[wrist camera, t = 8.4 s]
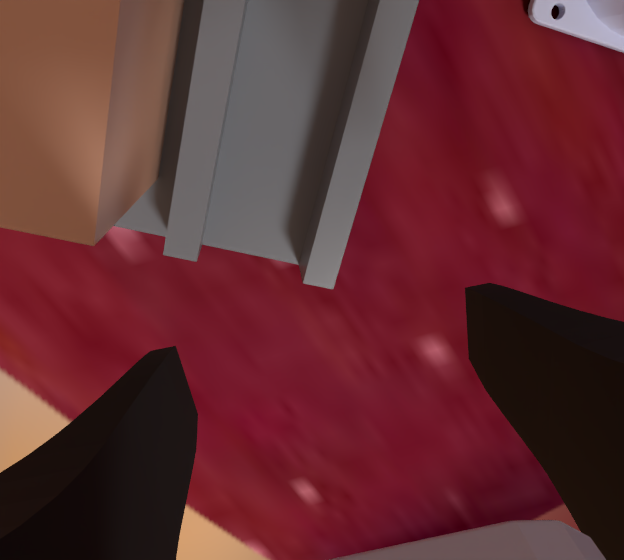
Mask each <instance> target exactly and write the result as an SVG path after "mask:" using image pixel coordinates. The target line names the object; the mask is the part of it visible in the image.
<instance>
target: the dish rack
mask: <svg viewBox="0 0 624 560" xmlns="http://www.w3.org/2000/svg"><path fill="white" fill-rule="evenodd" d="M418 2H419V0H185V1H184V8H183V15H182V21H181V28H180V35H179V42H178V48H177V55H176V62H175V69H174V75H173V82H172V89H171V96H170V102H169V109H168V116H167V123H166V129H165V136H164V143H163V150H162V156H161V163H160V170H159V176H158V179H157V180H156V181H155V182H154V184H153V185H152V186H151V187H150V188H149V189H148V190H147V191H146V192H145V193H144V194H143V195H142V196H141V197H140V198H139V199H138V200H137V201H136V202H135V203H134V205H133V206H132V207H131V208H130V209H129V210H128V211H127V212H126V213H125V214H124V215H123V216H122V217H121V218H120V219H119V220H118V221H117V222H116V223H115V224H114V225H113V226H117V227H122V228H126V229H131V230H136V231H141V232H145V233H150V234H155V235H160V236H165V237H166V240H165V246H164V252H163V255H166V256H171V257H176V258H181V259H186V260H191V261H196V262H197V259H198V256H199V253H200V250H201V247H202V244H203V245H208V246H212V247H217V248H222V249H227V250H231V251H236V252H241V253H246V254H251V255H255V256H260V257H265V258H270V259H275V260H279V261H284V262H289V263H294V264H298V265H299V268H300V272H301V277H302V282H303V283H304V284H309V285H314V286H319V287H324V288H329V289H333V288H334V285H335V281H336V278H337V274H338V271H339V268H340V264H341V261H342V258H343V254H344V251H345V248H346V244H347V241H348V237H349V234H350V231H351V227H352V224H353V221H354V217H355V214H356V211H357V207H358V204H359V200H360V197H361V194H362V190H363V187H364V184H365V180H366V177H367V174H368V170H369V167H370V163H371V160H372V157H373V153H374V150H375V147H376V143H377V140H378V136H379V133H380V130H381V126H382V123H383V120H384V116H385V113H386V110H387V106H388V103H389V99H390V96H391V93H392V89H393V86H394V83H395V79H396V76H397V73H398V69H399V66H400V62H401V59H402V56H403V52H404V49H405V46H406V42H407V39H408V36H409V32H410V29H411V25H412V22H413V19H414V15H415V12H416V9H417V5H418Z"/></svg>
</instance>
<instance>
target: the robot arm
mask: <svg viewBox="0 0 624 560" xmlns="http://www.w3.org/2000/svg"><path fill="white" fill-rule="evenodd" d="M554 5H556V6H558V8H559V15H558V17H557V18H556V19H554V18H552V15H551V11H552V8H553V7H554ZM528 15H529V18H530V19H531V21H533V22H534V23H536V24H539V25H542V26H545V27H548V28H551V29H554V30H557V31H560V32H563V33H566V34H569V35H572V36H575V37H578V38H581V39H584V40H587V41H590V42H593V43H596V44H599V45H602V46H605V47H608V48H611V49H614V50H617V51H620V52H623V53H624V0H530V3H529V7H528ZM465 295H466V313H467V332H468V351H469V360H470V361H471V363H472V365H473V367H474V369H475V371H476V373H477V375H478V377H479V379H480V380H481V382H482V384H483V386H484V388H485V389H486V391H487V392H488V394H489V395H490V397H491V398H492V399H493V401H494V402H495V403H496V405H497V406H498V408H499V409H500V410H501V412H502V413H503V414H504V416H505V417H506V418H507V420H508V421H509V422H510V424H511V425H512V426H513V428H514V429H515V430H516V432H517V433H518V434H519V436H520V437H521V438H522V440H523V441H524V442H525V444H526V445H527V446H528V448H529V449H530V450H531V452H532V453H533V454H534V456H535V457H536V458H537V460H538V461H539V463H540V464H541V466H542V467H543V469H544V470H545V472H546V473H547V474H548V476H549V478H550V479H551V481H552V483H553V484H554V486H555V488H556V489H557V491H558V493H559V494H560V496H561V498H562V500H563V501H564V503H565V505H566V506H567V508H568V510H569V511H570V513H571V515H572V517H573V518H574V520H575V522H576V524H577V526H578V527H579V529H580V531H581V532H579V531H578V530H576V529H574V528H572V527H570V526H568V525H566V524H565V523H563V522H561V521H556V520H518V521H508V522H503V523H498V524H494V525H489V526H484V527H479V528H475V529H470V530H465V531H461V532H456V533H451V534H447V535H442V536H437V537H433V538H428V539H423V540H419V541H414V542H409V543H405V544H400V545H395V546H391V547H386V548H381V549H377V550H372V551H367V552H363V553H358V554H353V555H349V556H344V557H339V558H335V559H330V560H624V322H622V321H617V320H613V319H609V318H605V317H601V316H597V315H594V314H590V313H586V312H583V311H579V310H576V309H572V308H569V307H566V306H563V305H559V304H556V303H553V302H550V301H547V300H544V299H541V298H538V297H535V296H532V295H529V294H526V293H523V292H520V291H517V290H514V289H511V288H507V287H504V286H501V285H497V284H492V283H487V284H482V285H477V286H472V287H467V288H465ZM197 420H198V413H197V410H196V407H195V404H194V401H193V398H192V395H191V392H190V389H189V386H188V382H187V379H186V376H185V373H184V370H183V367H182V364H181V361H180V358H179V355H178V352H177V349H176V346H173V347H168V348H163V349H158V350H153V351H150V352H149V353H148V354H146V355H145V356H144V357H143V358H141V359H140V360H139V361H138V362H137V363H136V364H135V365H134V366H133V367H132V368H131V369H130V370H128V371H127V372H126V373H125V374H124V375H123V376H122V377H121V378H120V379H119V380H118V381H117V382H116V383H115V384H114V385H113V386H112V387H111V388H109V389H108V390H107V391H106V392H105V393H104V394H103V395H102V396H101V397H100V398H99V399H98V400H96V401H95V402H94V403H93V404H92V405H91V406H89V407H88V408H87V409H86V410H85V411H84V412H83V413H81V414H80V415H79V416H78V417H77V418H76V419H74V420H73V421H72V422H71V423H70V424H69V425H67V426H66V427H65V428H64V429H62V430H61V431H60V432H59V433H57V434H56V435H55V436H53V437H52V438H51V439H50V440H48V441H47V442H46V443H44V444H43V445H41V446H40V447H38V448H37V449H36V450H34V451H33V452H32V453H30V454H29V455H27V456H26V457H24V458H23V459H22V460H20V461H18V462H17V463H15V464H13V465H12V466H10V467H9V468H7V469H6V470H4V471H3V472H1V473H0V560H176V554H177V548H178V541H179V535H180V529H181V524H182V519H183V514H184V509H185V504H186V499H187V494H188V489H189V484H190V479H191V474H192V469H193V464H194V458H195V453H196V442H197Z"/></svg>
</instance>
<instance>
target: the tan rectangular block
mask: <svg viewBox="0 0 624 560" xmlns="http://www.w3.org/2000/svg"><path fill="white" fill-rule="evenodd" d="M184 1H185V0H0V227H2V228H7V229H12V230H17V231H22V232H27V233H32V234H37V235H42V236H47V237H52V238H57V239H62V240H67V241H72V242H76V243H81V244H86V245H91V246H94V245H95V244H96V243H97V242H98V241H99V240H100V239H101V238H102V237H103V236H104V235H105V234H106V233H107V232H108V231H109V230H110V229H111V228H112V227H113V225H114V224H115V223H116V222H117V221H118V220H119V219H120V218H121V217H122V216H123V215H124V214H125V213H126V212H127V211H128V210H129V209H130V208H131V207H132V206H133V205H134V203H135V202H136V201H137V200H138V199H139V198H140V197H141V196H142V195H143V194H144V193H145V192H146V191H147V190H148V189H149V188H150V187H151V186H152V185H153V184H154V182H155V181H156V180H157V179H158V176H159V170H160V163H161V156H162V150H163V143H164V136H165V129H166V123H167V116H168V109H169V102H170V96H171V89H172V82H173V75H174V69H175V62H176V55H177V48H178V42H179V35H180V28H181V21H182V15H183V8H184Z"/></svg>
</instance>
